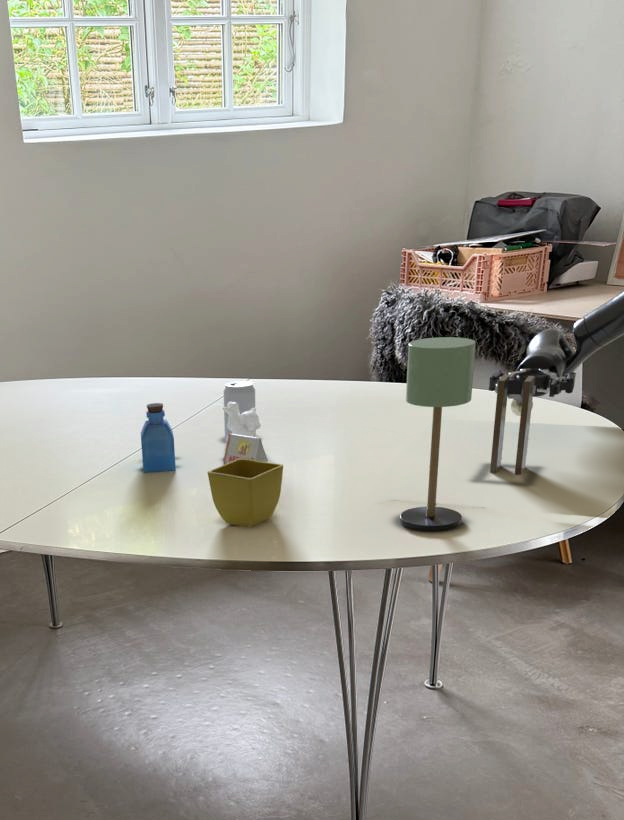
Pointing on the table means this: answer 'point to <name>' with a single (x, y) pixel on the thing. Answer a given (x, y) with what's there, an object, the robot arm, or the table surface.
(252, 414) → the white animal figurine
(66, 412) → the table surface
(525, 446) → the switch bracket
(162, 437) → the blue corked bottle
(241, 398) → the beverage can
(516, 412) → the lamp switch
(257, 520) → the flower pot
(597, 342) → the robot arm
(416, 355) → the desk lamp
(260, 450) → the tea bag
